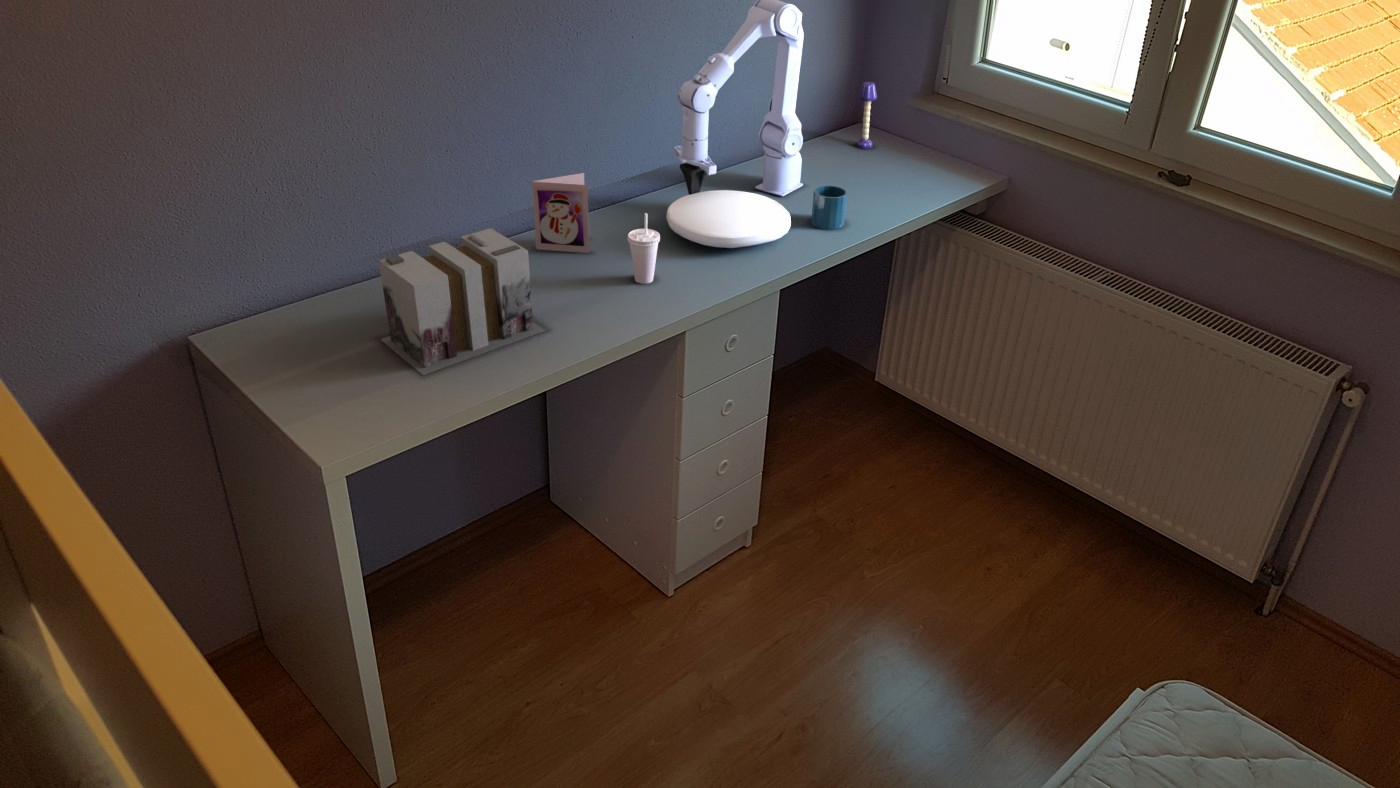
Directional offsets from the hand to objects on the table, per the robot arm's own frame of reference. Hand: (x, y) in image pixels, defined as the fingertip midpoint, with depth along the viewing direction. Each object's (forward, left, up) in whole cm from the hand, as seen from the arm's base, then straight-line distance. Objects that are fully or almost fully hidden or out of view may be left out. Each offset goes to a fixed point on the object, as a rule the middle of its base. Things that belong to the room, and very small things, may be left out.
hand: (693, 194), depth 243 cm
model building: (+73, +3, -4) cm, 73 cm away
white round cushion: (+5, +13, -4) cm, 15 cm away
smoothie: (+35, +14, -4) cm, 38 cm away
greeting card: (+33, -9, -4) cm, 35 cm away
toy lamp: (-63, +9, -4) cm, 64 cm away
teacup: (-13, +28, -3) cm, 31 cm away
